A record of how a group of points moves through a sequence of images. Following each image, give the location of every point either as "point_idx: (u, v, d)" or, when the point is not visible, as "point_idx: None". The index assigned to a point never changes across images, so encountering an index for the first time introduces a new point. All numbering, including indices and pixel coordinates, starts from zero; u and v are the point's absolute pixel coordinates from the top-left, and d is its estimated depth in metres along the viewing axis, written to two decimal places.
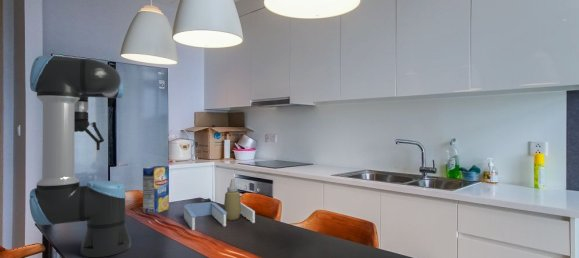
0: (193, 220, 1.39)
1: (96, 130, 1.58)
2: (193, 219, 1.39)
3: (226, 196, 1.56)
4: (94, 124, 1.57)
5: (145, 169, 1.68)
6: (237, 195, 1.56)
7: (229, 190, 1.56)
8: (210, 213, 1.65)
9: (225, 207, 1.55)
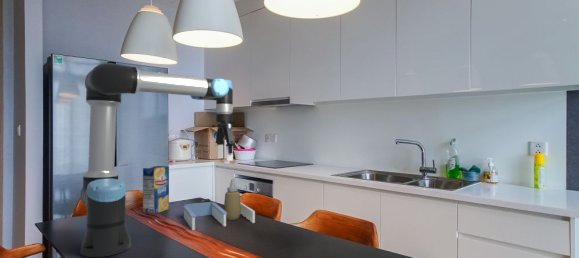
0: (193, 220, 1.39)
1: (227, 132, 1.51)
2: (193, 219, 1.39)
3: (226, 196, 1.56)
4: (226, 126, 1.52)
5: (145, 169, 1.68)
6: (237, 195, 1.56)
7: (229, 190, 1.56)
8: (210, 213, 1.65)
9: (225, 207, 1.55)
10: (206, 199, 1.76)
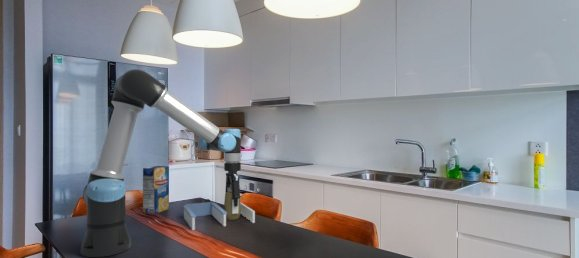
0: (193, 220, 1.39)
1: (233, 185, 1.52)
2: (193, 219, 1.39)
3: (226, 196, 1.56)
4: (233, 178, 1.52)
5: (145, 169, 1.68)
6: None
7: (229, 190, 1.56)
8: (210, 213, 1.65)
9: (225, 207, 1.55)
10: None
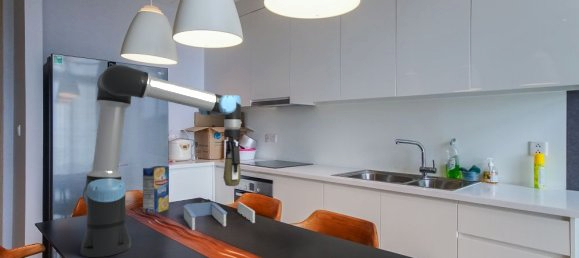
0: (193, 220, 1.39)
1: (233, 150, 1.52)
2: (193, 219, 1.39)
3: (226, 162, 1.56)
4: (233, 144, 1.52)
5: (145, 169, 1.68)
6: None
7: (229, 156, 1.56)
8: (210, 213, 1.65)
9: (225, 173, 1.55)
10: (206, 200, 1.75)
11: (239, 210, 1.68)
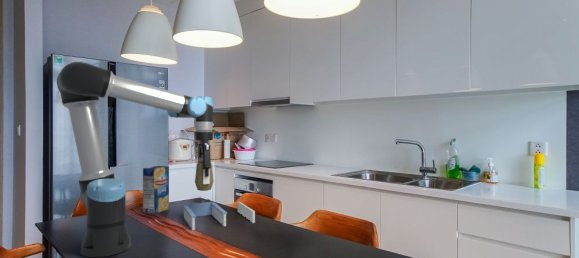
0: (193, 220, 1.39)
1: (204, 154, 1.46)
2: (193, 219, 1.39)
3: (197, 166, 1.50)
4: (204, 147, 1.46)
5: (145, 169, 1.68)
6: None
7: (200, 160, 1.50)
8: (210, 213, 1.65)
9: (196, 177, 1.50)
10: (206, 200, 1.75)
11: (239, 210, 1.68)
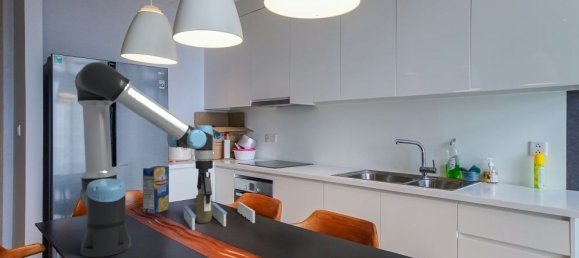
0: (193, 220, 1.39)
1: (204, 181, 1.45)
2: (193, 219, 1.39)
3: (197, 199, 1.50)
4: (204, 175, 1.46)
5: (145, 169, 1.68)
6: None
7: (199, 192, 1.50)
8: None
9: (196, 210, 1.50)
10: None
11: (239, 210, 1.68)
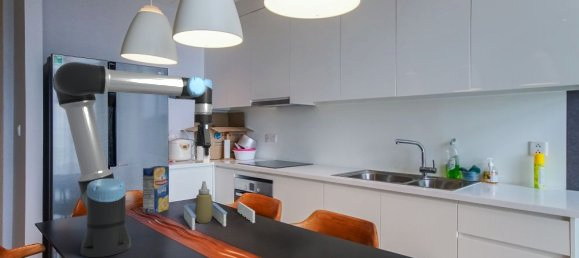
0: (193, 220, 1.39)
1: (204, 133, 1.45)
2: (193, 219, 1.39)
3: (197, 198, 1.50)
4: (203, 127, 1.46)
5: (145, 169, 1.68)
6: (208, 197, 1.50)
7: (200, 192, 1.50)
8: None
9: (196, 210, 1.50)
10: None
11: (239, 210, 1.68)
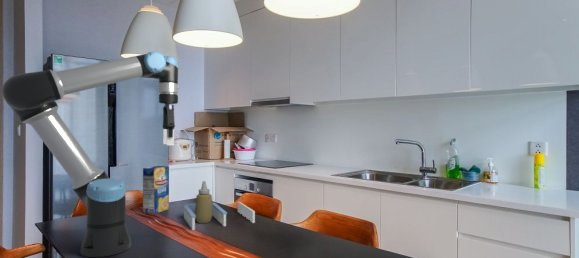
0: (193, 220, 1.39)
1: (167, 113, 1.36)
2: (193, 219, 1.39)
3: (197, 198, 1.50)
4: (167, 107, 1.37)
5: (145, 169, 1.68)
6: (208, 197, 1.50)
7: (200, 192, 1.50)
8: None
9: (196, 210, 1.50)
10: None
11: (239, 210, 1.68)
